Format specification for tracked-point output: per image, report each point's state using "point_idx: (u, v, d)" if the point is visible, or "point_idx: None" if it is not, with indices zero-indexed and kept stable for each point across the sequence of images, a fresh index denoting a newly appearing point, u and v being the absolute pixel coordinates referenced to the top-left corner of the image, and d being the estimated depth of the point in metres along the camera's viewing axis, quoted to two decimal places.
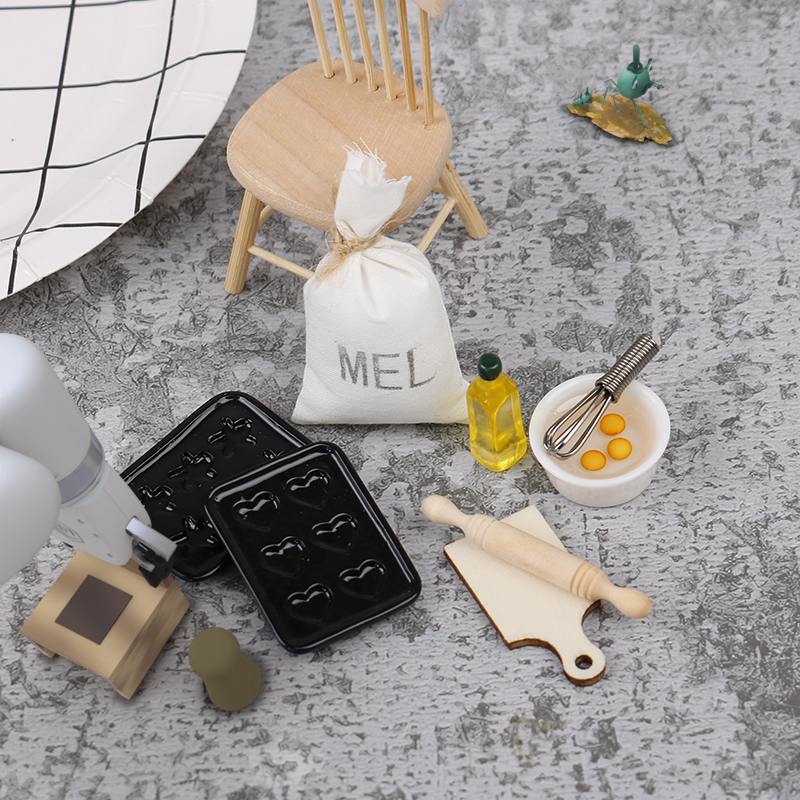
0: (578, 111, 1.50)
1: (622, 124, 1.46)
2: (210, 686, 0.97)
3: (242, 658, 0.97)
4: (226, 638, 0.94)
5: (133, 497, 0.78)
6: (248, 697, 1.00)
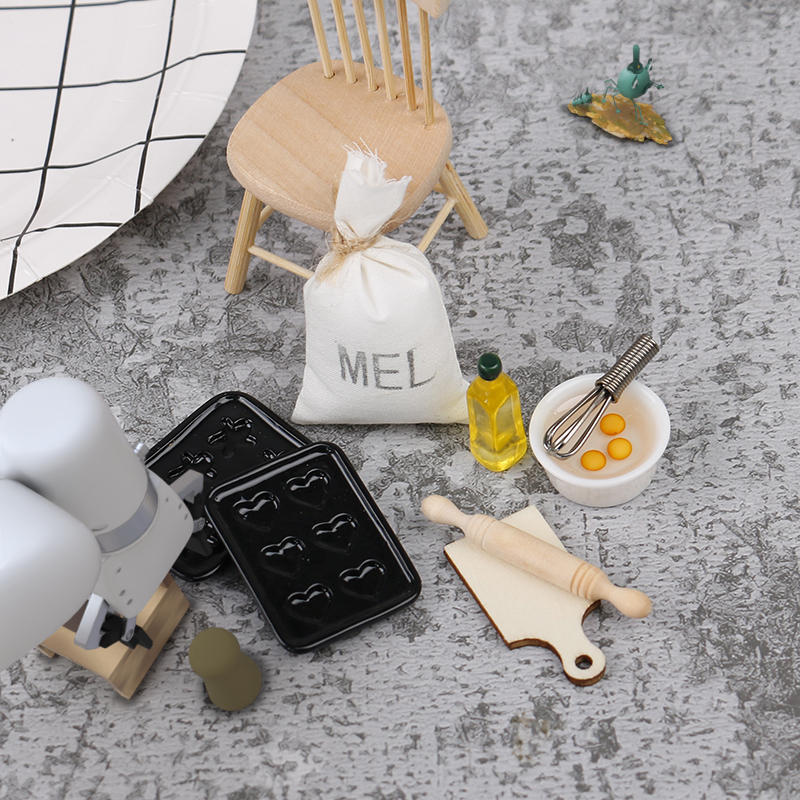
0: (578, 111, 1.50)
1: (622, 124, 1.46)
2: (210, 686, 0.97)
3: (242, 658, 0.97)
4: (226, 638, 0.94)
5: (110, 593, 0.73)
6: (248, 697, 1.00)
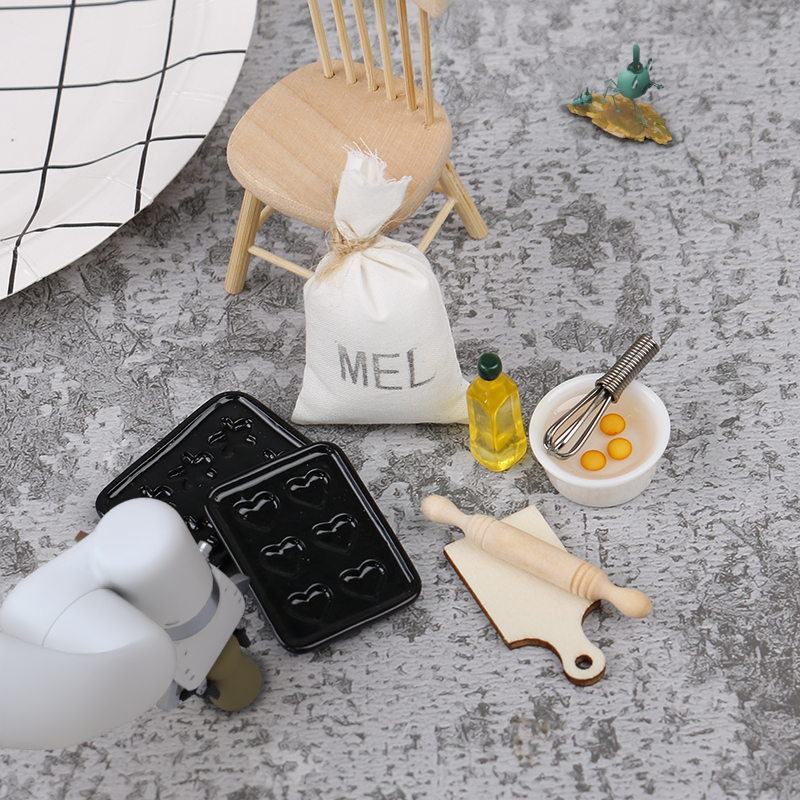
0: (578, 111, 1.50)
1: (622, 124, 1.46)
2: None
3: (242, 658, 0.97)
4: None
5: (176, 672, 0.84)
6: (248, 697, 1.00)
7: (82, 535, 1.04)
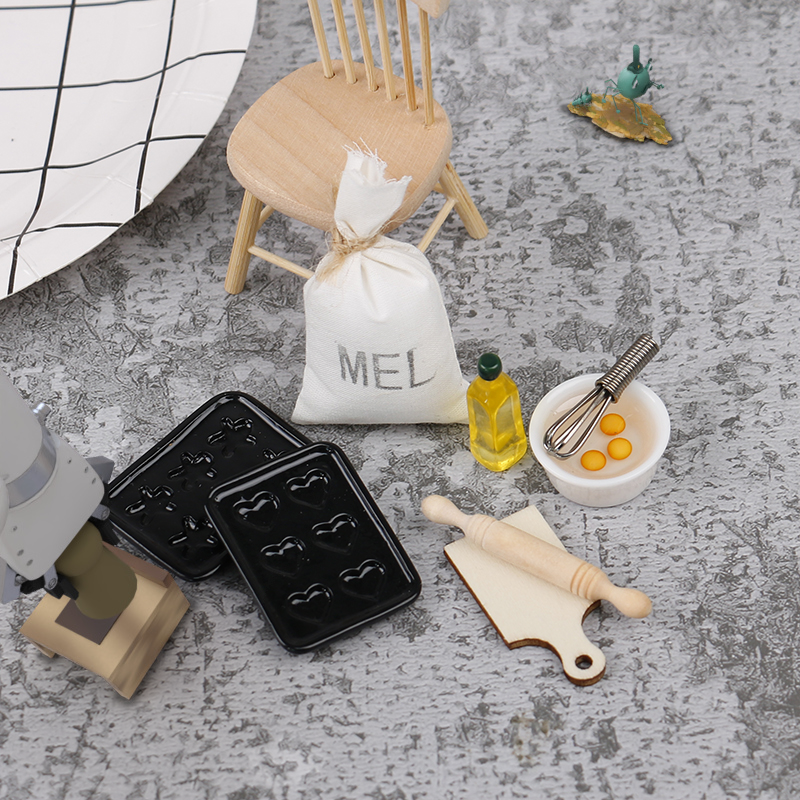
0: (578, 111, 1.50)
1: (622, 124, 1.46)
2: None
3: (108, 556, 0.86)
4: (84, 529, 0.82)
5: (7, 552, 0.73)
6: (118, 603, 0.88)
7: None
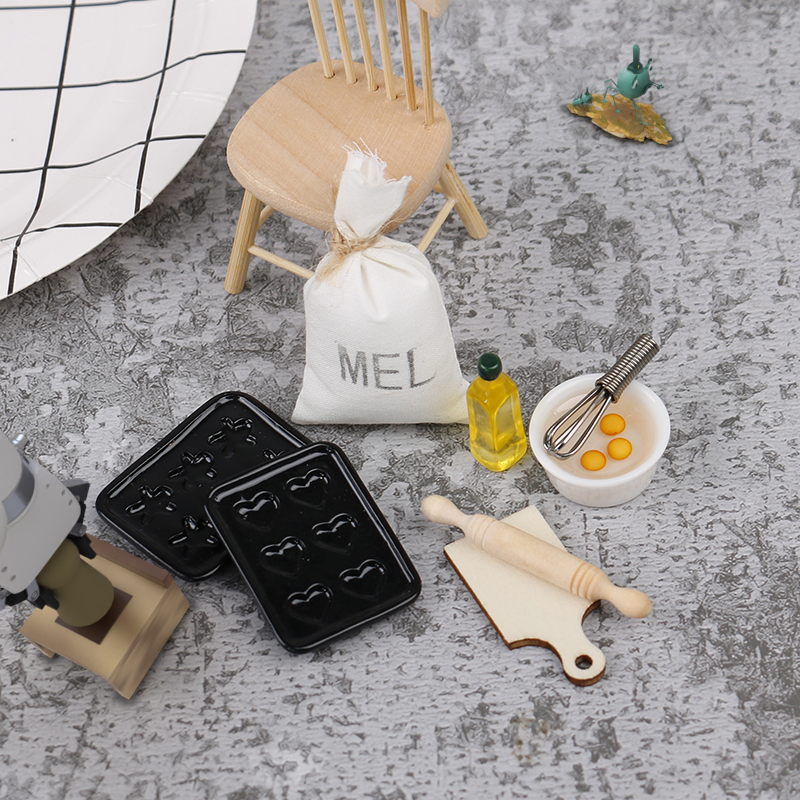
0: (578, 111, 1.50)
1: (622, 124, 1.46)
2: None
3: (85, 569, 0.94)
4: (63, 545, 0.90)
5: None
6: (96, 612, 0.96)
7: None
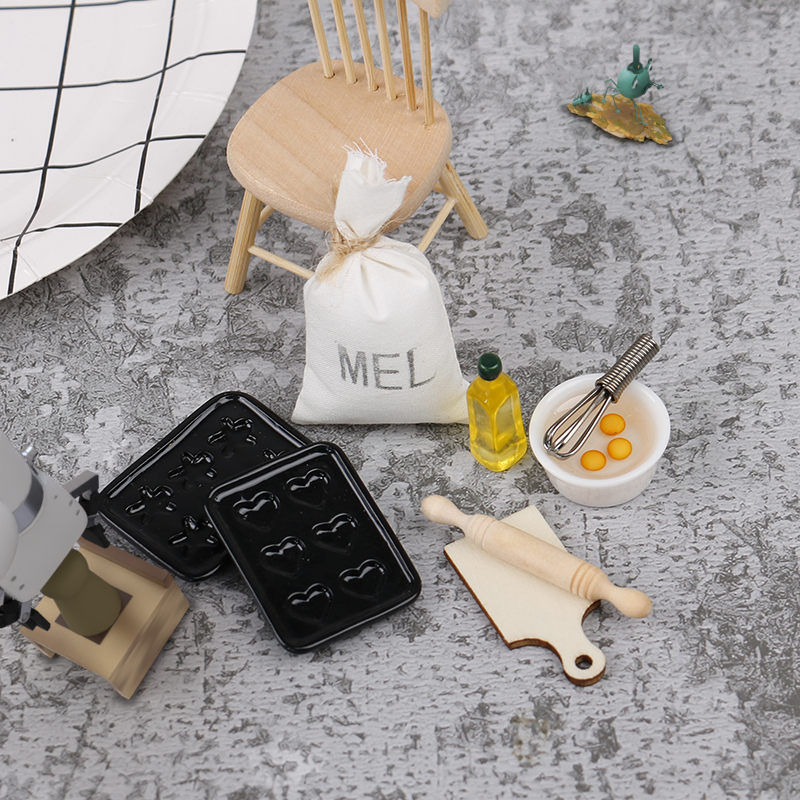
0: (578, 111, 1.50)
1: (622, 124, 1.46)
2: (60, 608, 0.95)
3: (94, 580, 0.96)
4: (72, 557, 0.92)
5: None
6: (104, 621, 0.98)
7: None
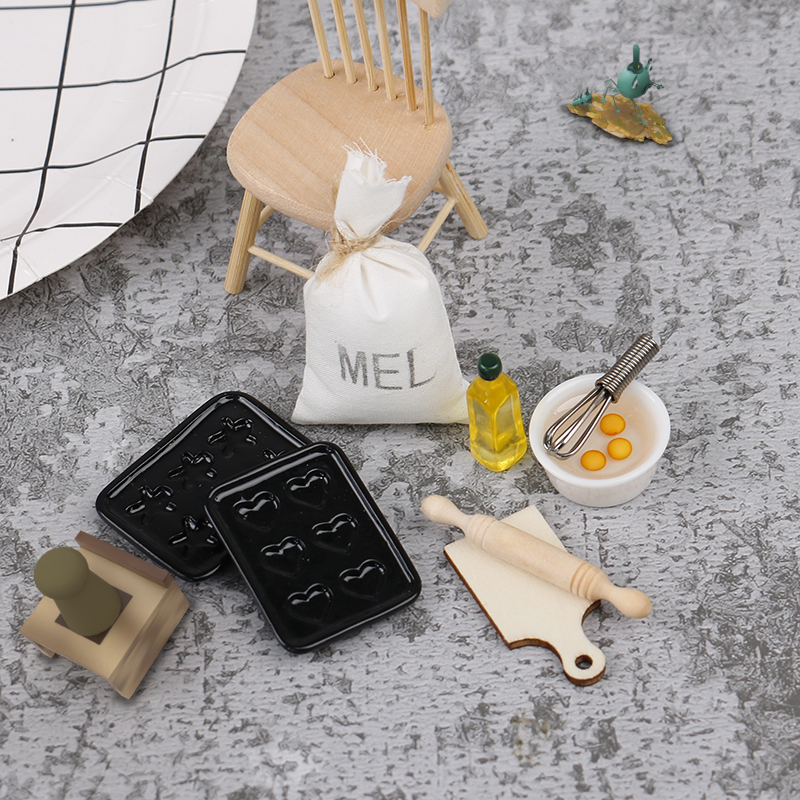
0: (578, 111, 1.50)
1: (622, 124, 1.46)
2: (60, 608, 0.95)
3: (94, 580, 0.96)
4: (72, 557, 0.92)
5: None
6: (104, 621, 0.98)
7: (82, 535, 1.04)
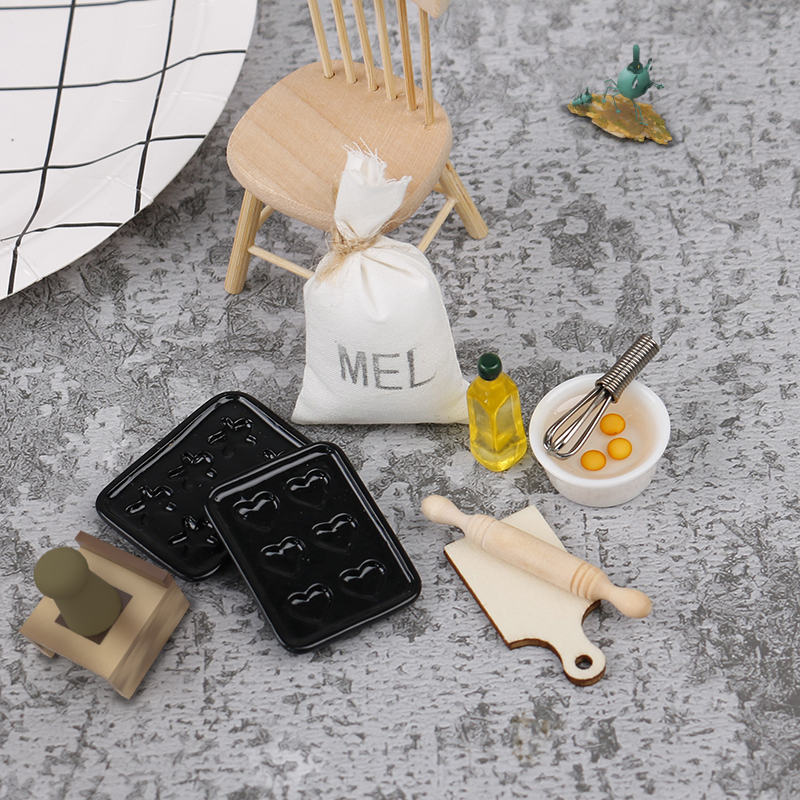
0: (578, 111, 1.50)
1: (622, 124, 1.46)
2: (60, 608, 0.95)
3: (94, 580, 0.96)
4: (72, 557, 0.92)
5: None
6: (104, 621, 0.98)
7: (82, 535, 1.04)
